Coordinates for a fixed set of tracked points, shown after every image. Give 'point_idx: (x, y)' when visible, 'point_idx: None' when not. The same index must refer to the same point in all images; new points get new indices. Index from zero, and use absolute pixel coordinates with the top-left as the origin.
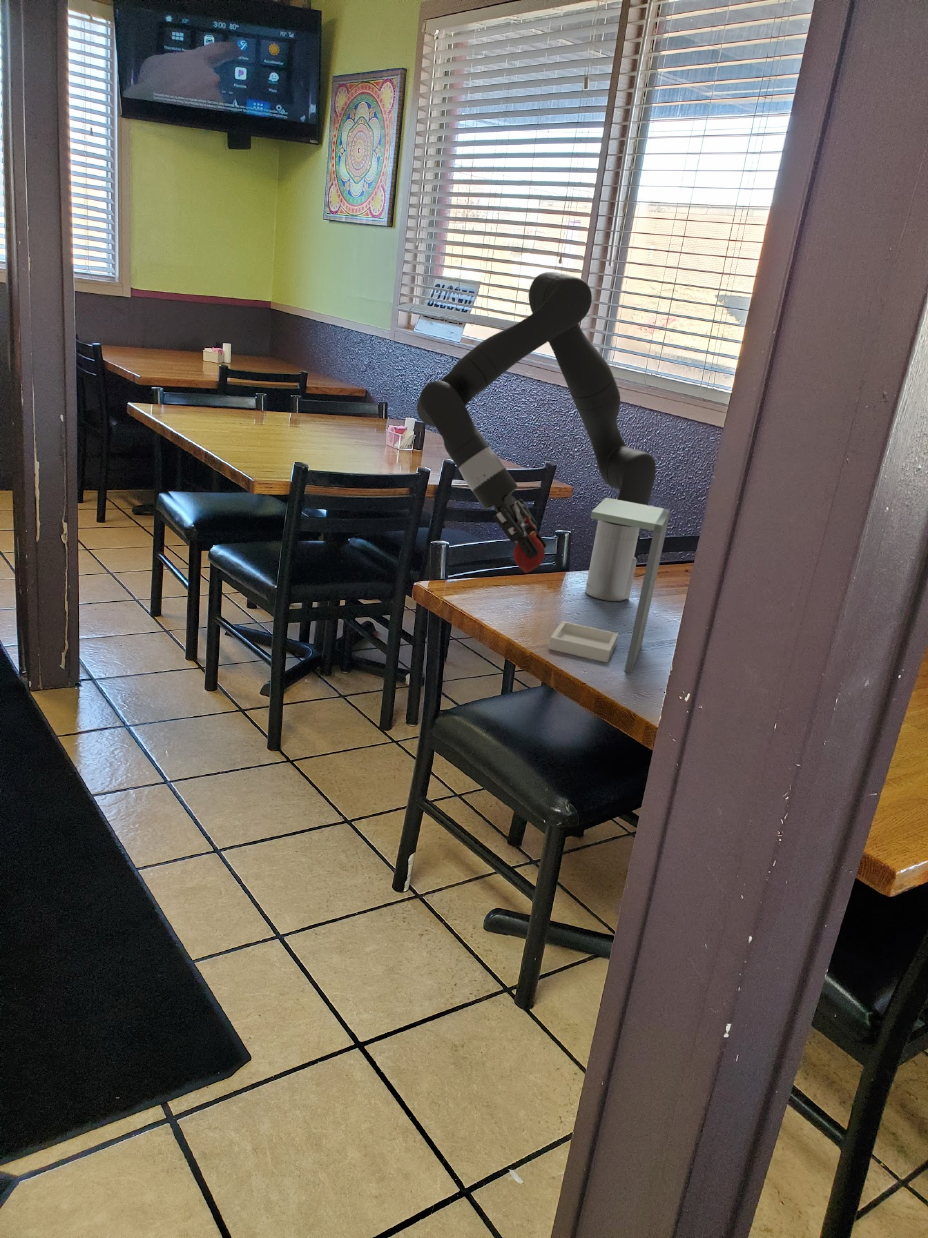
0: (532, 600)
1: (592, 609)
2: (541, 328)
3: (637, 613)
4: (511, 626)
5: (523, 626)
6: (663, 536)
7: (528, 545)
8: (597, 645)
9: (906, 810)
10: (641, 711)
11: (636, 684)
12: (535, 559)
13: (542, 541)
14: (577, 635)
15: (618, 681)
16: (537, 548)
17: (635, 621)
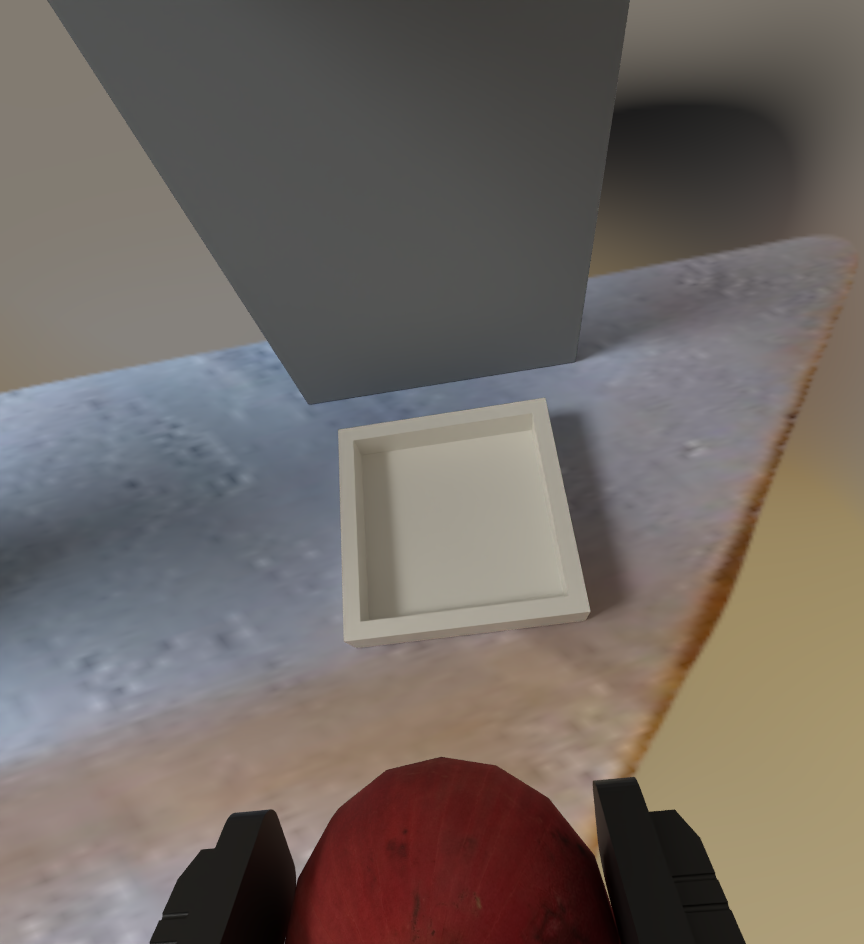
0: (6, 912)
1: (7, 630)
2: None
3: (598, 198)
4: None
5: None
6: None
7: (736, 937)
8: (429, 482)
9: None
10: (835, 249)
11: (648, 310)
12: (556, 809)
13: (246, 872)
14: (377, 571)
15: (673, 351)
16: (529, 833)
17: (593, 229)
